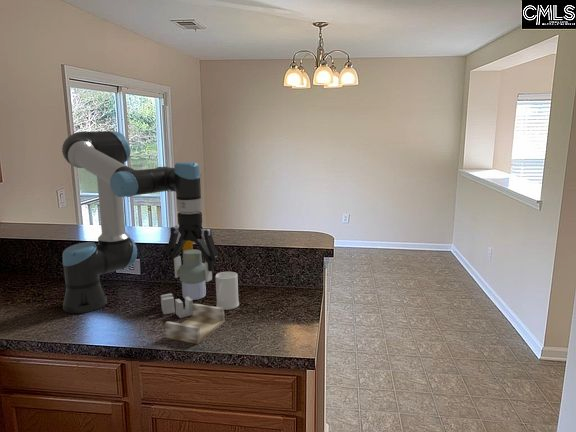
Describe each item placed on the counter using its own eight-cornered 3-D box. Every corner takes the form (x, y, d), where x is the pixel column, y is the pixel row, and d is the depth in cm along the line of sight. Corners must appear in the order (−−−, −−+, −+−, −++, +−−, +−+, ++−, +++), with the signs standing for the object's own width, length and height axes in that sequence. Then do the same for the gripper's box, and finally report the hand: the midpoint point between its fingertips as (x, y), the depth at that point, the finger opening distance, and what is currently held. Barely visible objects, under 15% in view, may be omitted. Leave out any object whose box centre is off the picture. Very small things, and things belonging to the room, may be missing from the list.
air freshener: (180, 276, 145) (179, 248, 143) (205, 274, 147) (204, 246, 145) (180, 288, 135) (178, 257, 133) (207, 286, 136) (205, 255, 134)
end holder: (165, 337, 139) (164, 323, 138) (195, 316, 154) (194, 303, 153) (197, 344, 134) (196, 329, 133) (225, 321, 150) (224, 307, 149)
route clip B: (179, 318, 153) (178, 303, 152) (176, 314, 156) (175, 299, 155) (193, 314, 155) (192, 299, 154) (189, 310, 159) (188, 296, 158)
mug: (228, 314, 155) (226, 283, 153) (207, 311, 158) (205, 280, 156) (243, 302, 166) (242, 272, 163) (223, 299, 169) (222, 270, 166)
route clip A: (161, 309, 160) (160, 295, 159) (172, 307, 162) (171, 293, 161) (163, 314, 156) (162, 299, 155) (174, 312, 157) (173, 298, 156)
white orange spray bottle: (210, 293, 175) (207, 234, 170) (198, 301, 167) (194, 240, 162) (190, 290, 178) (187, 232, 173) (178, 299, 170) (174, 238, 165)
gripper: (151, 211, 137) (156, 277, 141) (215, 216, 129) (218, 286, 133) (166, 207, 144) (170, 270, 148) (228, 211, 135) (230, 278, 140)
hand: (193, 278), depth 141 cm, fingers closed on air freshener, 11 cm apart
